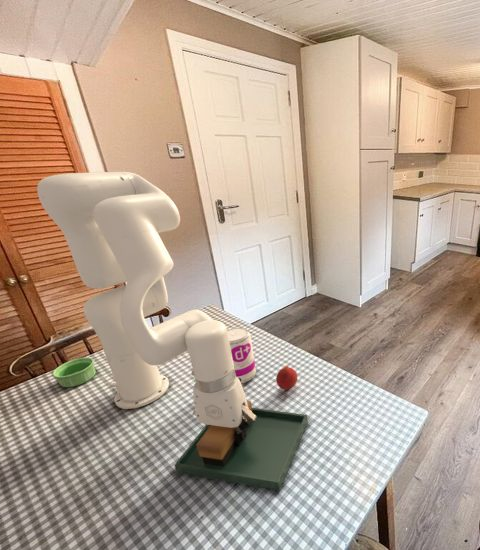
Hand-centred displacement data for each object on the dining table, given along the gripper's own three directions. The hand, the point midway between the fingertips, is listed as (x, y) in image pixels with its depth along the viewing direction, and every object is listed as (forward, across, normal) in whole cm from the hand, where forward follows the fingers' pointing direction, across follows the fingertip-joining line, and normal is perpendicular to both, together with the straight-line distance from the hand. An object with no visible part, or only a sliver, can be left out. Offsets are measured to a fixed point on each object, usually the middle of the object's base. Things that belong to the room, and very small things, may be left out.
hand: (229, 438), depth 71 cm
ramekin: (+1, -58, +13) cm, 59 cm away
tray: (+1, +4, 0) cm, 5 cm away
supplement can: (+1, -10, +22) cm, 24 cm away
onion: (+2, +6, +19) cm, 20 cm away
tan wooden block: (0, 0, 0) cm, 0 cm away
